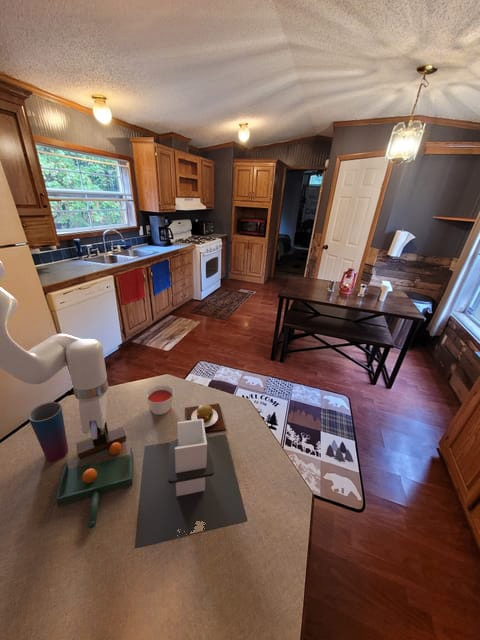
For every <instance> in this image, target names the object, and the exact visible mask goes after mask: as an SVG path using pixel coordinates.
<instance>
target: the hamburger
mask: <svg viewBox="0 0 480 640" xmlns="http://www.w3.org/2000/svg"><path fill="white" fill-rule="evenodd" d="M184 410H185V419H186V420H185V421H190V420H197V419H203V422H204V428H205V434H209V433H215V432H222V431H226V430H227V429H226V425H225V420H224V418H223V413H222V410H221V406H220V403H211V404H208V403H201V404H200V405H195V406H188V407H187V406H186V407H184Z"/></svg>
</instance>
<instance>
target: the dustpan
mask: <svg viewBox="0 0 480 640" xmlns="http://www.w3.org/2000/svg"><path fill="white" fill-rule="evenodd" d="M133 453H134V452H133V447H130V448H129V454H127V455H122V456H118V457H113V458H110V459H105V460H101V461H98V462H93V463H89V464H85V465H81V466H77V467H72V468H69V465H68V463H67V462H65V463H64V466H63V470H62V474H61V477H60V481H59V484H58V489H57V492H56V496H55V503H56V505H57V507H61V506H65V505H67V504H71V503H75V502H78V501H82V500H85V499H89V498H91V499H90V505H89V512H88V517H87V518H88V519H87V528H88V529H90V530H91V529H94V528H95V527H96V525H97V520H98V510H99V502H100V495H103V494H106V493H110V492H114V491H117V490H121V489H125V488H127V487H131V486H133V478H134V477H133V476H134V475H133V472H134V470H133V469H134V468H133V467H134V466H133V464H134V460H133V459H134V454H133ZM88 469H95V470H96V472H97V477H96V479H95V480H94V481H93V482H92V483H89V484H86V483H84V482H83V480H82V476H83V474H84V472H85V471H86V470H88Z"/></svg>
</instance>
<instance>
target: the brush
mask: <svg viewBox="0 0 480 640" xmlns="http://www.w3.org/2000/svg"><path fill="white" fill-rule="evenodd" d="M97 431H100V429H97ZM104 432H105V433H106V430H105V426H104ZM106 439H107V443H106V444H102V445H98V446H94V445H93V440H92V437H89V438H87V439H84V440H81V441H78V442H76V443H75V444H76V445H75V446H76V455H77V458H79V460H83V459H86V458H88V457H91V456H93V455H95V454H97V453H100V452H103V451H106V450H107V449H108V450H109V448H110V446H111V445H112V444H113V443H115V442H119V443H120V444H123V443H125V442H127V434H126V431H125V428H124V425H123V426H119V427H117V428H114V429H111V430H108V434H106Z"/></svg>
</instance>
